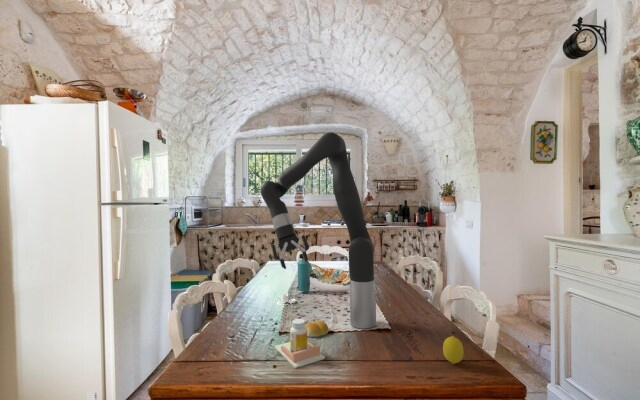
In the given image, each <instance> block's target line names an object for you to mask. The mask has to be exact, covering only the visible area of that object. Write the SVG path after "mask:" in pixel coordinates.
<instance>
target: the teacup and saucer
mask: <svg viewBox="0 0 640 400" xmlns="http://www.w3.org/2000/svg"><path fill="white" fill-rule="evenodd" d="M278 298H279V300H278V301H277V302H276V305H277V306H281V307H283V306H284V305H285V304H284V303H286V302H287V303H286V304H289V303H290V304H291V305H293V304H295V303H296V302H297V299H295V298H292V299H289V294H287V293H283V294H281V295H279V297H278ZM288 300H289V301H288ZM280 302H281V303H282V304H281V303H280ZM292 303H293V304H292ZM284 307H285V306H284Z"/></svg>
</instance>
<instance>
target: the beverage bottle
mask: <svg viewBox="0 0 640 400" xmlns="http://www.w3.org/2000/svg"><path fill="white" fill-rule="evenodd" d="M299 259H301V260H299V261H297V262H296V263H297V290H298V291H299V292H309V291H310V290H311V281H310V280H311V276H310V274H311V272H310V270H311V269H310V261H309V260H307V262H305V261H304V258H303V255H302V253H300V254H299Z"/></svg>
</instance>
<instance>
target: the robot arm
mask: <svg viewBox="0 0 640 400" xmlns="http://www.w3.org/2000/svg"><path fill="white" fill-rule="evenodd" d="M325 159H328V162H329V165H330V167H331V170H332V171H331V172H332V186H333V188H332V189H333V194H334V197H335V202H336V206H337V208H338V211H339V213H340V215H341V217H342V219H343V221H344V223H345V225H346V228H347V232H348V236H349V241H350V245H349V247H348V272H349V302H350V303H349V304H350V305H349V306H350V307H349V308H350V309H349V310H350V311H349V313H350V317H349V318H350V319H349V320H350V322H349V323H350V325H351V327H353V328H356V329H362V330H363V329H364V330H365V329H370V328H371V329H372V328H373V326H374V327H377V301H376V300H375V271H374V269H375V267H374V263H375V262H374V252H375V245H374V242H373V241H372V238H371V236H370V233H369V230H368V228H367V225H366V222H365V217H364V212H363V211H364V210H363V205H362V202H361V197H360V194H359V190H358V188H357V184H356V180H355V178H354V175H353V172H352V170H351V167H350V162H349V157H348V153H347V145H346V142H345V140H344V138H343V137H342V136H340V135H339V134H338V133H335V132H330V131H329V132H326V133H325V134H323V135H321V137H320V138H319V139H318V140H317V141H316V142H315V143H314V144H313V146H311V147H310V149H308V150H307V151H306V152H305V153H304V154H303V155H302V156H301V157H299V158H298V159H297V160H296V161H295V162H293V163H292V164H291V165H290V166H288V167H287V168H286V169H283V171H282V172H280V174H279V175H278V180H277V181H276V182H275V181H272V180H266V181H264V182H263V183H262V184H261V186H260V195H261V197H262V199H263V201H264V203H265V205H266V206H267V208H268V210H269V214H270V216H271V220H272V225H273V229H274V231H275V235H276V239H277V243H275V244H272V245H271V250H272V255H273V258H274V260H275V261H279V263H280V266H281V268H282V269H284V270H286V269H287V266H286V263H285V259H284V255H285V253H289V252H291V251H295V250H297V251H299V252H300V253H301V254H302V255H303V258H304V259H303V260H304V261H305V262H307V261H309V258H308V254H307V251H309V249H310V245H309V242H308V241H307V237H306V236H305V235H304V234H303V235H302V236H299V237H298V236H297V234H296V231H295V230H296V229H295V228H294V224H293V222H292V221H293V220H292V218H291V216H290V213H289V210H288V208H287V205H286V203H285V202H284V200H283V201H282V200H281V198H282V197H284V195H286V194H287V192H288V191H289V190H290V189H291V188H292V187H293V186H294V185H296V184H297V183H299V181H301V180H302V179H304V177H306V176H307V175H308V173H309V172H310V171H311V170H312V169H313V168H314V167H315V166H316V165H317V164H319V163H320V162H321V161H323V160H325ZM299 241H300V242H302V243H303V246H304V247H302V246H301V245H300V244H299ZM278 247H279V248H280V249H281V253H280V255H278V253H277V250H278Z"/></svg>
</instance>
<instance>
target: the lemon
mask: <svg viewBox="0 0 640 400" xmlns="http://www.w3.org/2000/svg"><path fill="white" fill-rule="evenodd" d="M442 353H443V356H444V357H445V359H446V360H447V361H448V362H450V363H451V364H452V365H455V364H457V363H460V362H461V361H462V360H463V358H464V354H465V353H464V346H463V344H462V342H461V340H460V339H458V338H457V337H455V336H454V335H452V336H449V337H447V338H446V339H444V341H443V344H442Z"/></svg>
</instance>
